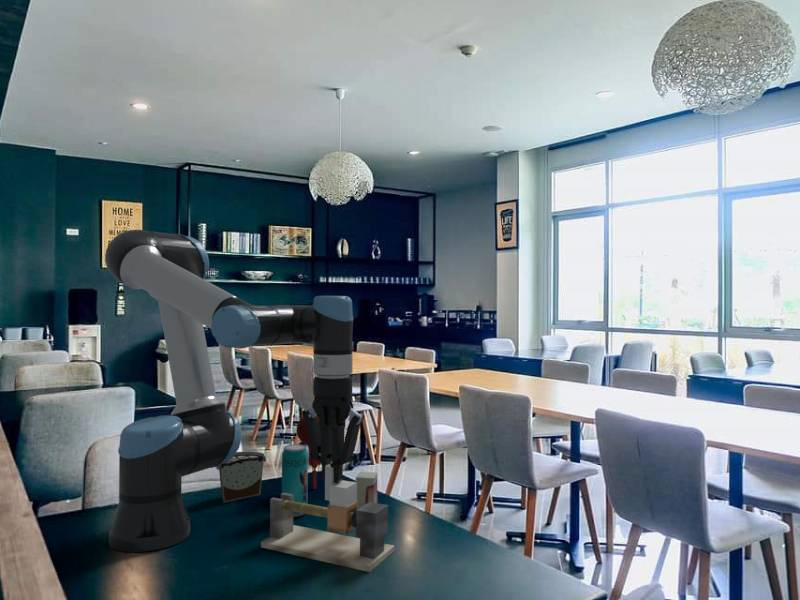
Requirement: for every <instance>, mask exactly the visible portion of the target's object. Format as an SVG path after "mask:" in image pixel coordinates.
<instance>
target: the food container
mask: <svg viewBox="0 0 800 600" xmlns="http://www.w3.org/2000/svg"><path fill="white" fill-rule="evenodd" d="M264 462H267V460H266V455H265V453H264V452H259V451H237V452H236V454H235V456H234V457H233V458H232V459H230V460H229V461H227V462H225V463H223V464H221V465H219V466H217V467H215V468H216V470H217V471H218V472H219V481H220V482H219V484H220V491H221V492H220V494H221V501H222V503H224V504H225V503H229V502H233V501H238V500H242V499H243V500H244V499H248V498H252V497H257V496H261V489H262V480H263V479H262V478H263V472H264V471H263V469H264Z"/></svg>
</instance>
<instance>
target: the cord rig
mask: <svg viewBox="0 0 800 600" xmlns="http://www.w3.org/2000/svg"><path fill="white" fill-rule="evenodd" d="M269 501H270V502H269V503H270V505H269V508H270V509H269V513H270V514H269V515H270V516H269V519H270V520H269V537H268V538H265V539H264V540H262V541H261V542H260V548H263V549H267V550H272V551H276V552H280V553H285V554H290V555H292V556H293V555H294V556H298V557H303V558H306V559H310V560H315V561H319V562H325V563H329V564H332V565H337V566H342V567H347V568H350V569H354V570H359V571H364V572H367V573H371V572H372V571H373V570H374V569H375V568H376V567H377V566H378V565H380V564H381V563H383V562H384V560H386V559H387V558H389V556H390V555H391V554H393V553H394V552H395V551H396V550H395V549H396V548H395V547H396V545H393V544H387V543H385V535H386V534H387V533H388V532H389V504H383V503H378V502H377V503H373V502H369V503H367V504H365V505H364V506H362V507H361V508H359V509H355V511H354V512H349V511H348V522H352V526H353V527H354V528H355V530H356V531H355V534H356V537H354V536H351V535H350V536H348V535H346V534H341V533H336V532H331V531H325V530H321V529H314V528H310V527H305V526H301V525H295V524H294V517H293V511H295V512H300V513H304V515H305V514H306V515H312V516H316V517H323V518H327V519H328V506H327V507H325V506H320V505H315V504H310V503H308V504H305V503H299V502H294V501H293V494H289V493H282V492H281V493H280V498H278V497H272V498H270V500H269Z"/></svg>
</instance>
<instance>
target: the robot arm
mask: <svg viewBox="0 0 800 600" xmlns="http://www.w3.org/2000/svg"><path fill="white" fill-rule="evenodd" d="M104 259H105V260H104V261H105V266H106V268H107V270H108V272H109V274H111V276H112V277H113V278H114V279H115V280H117V281H118V282H119V283H121V284H123V285H125V286H126V287H128V288H130V289H132V290H141V289H142V290H144V291H145V292H147V293H149V296H150V297H151V298H153V299H155V300H156V301H157V302H158V307H159V308H158V309H159V314H160V320H161V324H162V325H161V326H162V329H163V330H162V331H163V334H164V335H163V336H164V341H165V346H166V352H167V353H166V354H167V357H168V365H169V370H170V375H171V381H172V387H173V392H174V398H175V403H176V406H175V407H174V409H173V410H172V412H171V413H170V415H158V416H155V417H154V416H150V417H145V418H141V419H138V420H135V421H133V422H131V423H129V424H128V425H126V426H125V427H124V428H123V429H122V431H121V432H120V435H119V446H118V449H117V450H118V451H117V452H118V456H119V458H118V459H119V461H118V463H119V465H118V466H119V468H118V471H119V473H118V474H119V475H118V482H119V483H118V493H119V494H118V505H117V508H116V510H115V514H114V518H113V522H112V525H111V526H110V528H109V531H108V545H109V547H110V548H112V549H114V550H117V551H118V552H119V551H120V552H129V553H130V552H131V553H139V552H140V553H142V552H150V551H151V552H152V551H158V550H163V549H166V548H169V547H171V546H174V545H177V544H179V543H181V542H182V541H183V542H184V540H186V539H187V538H188V537H189V536H190V534H191V520H190V519H191V518H190V517H189V516H188V512H187V507H186V506H185V505H186V504H185V502H184V499H183V496H182V478H183V477H185V476H188V475H192V474H194V473H198V472H201V471H204V470H208V469H213V468H216V467H217V466H219V465H221V464H223V463H225V462H227V461H229V460H230V459H232V458H233V457H234V456H235V454H236V452H238V450H239V449H240V446H241V443H242V434H243V433H242V427H241V424H240V421H239V418H238V417H235V416H236V415H235V414H234V413H232V412H230V411H228V410H227V409H226V408H227V407H226V403H225V402H226V401H224V400H222V399H220V398H219V397H218V396H217V393H216V387H215V382H214V377H213V376H214V375H213V373H212V372H213V371H212V367H211V360H210V357H209V356H210V355H209V351H208V350H209V349H208V345H207V340H206V334H205V328H204V326H205V327H207V328H209V329H210V330H211V334H212V336H213V337H214V339H215V341H216V343H217V344H218V345H220V346H221V347H224V348H229V349H232V348H233V349H234V348H235V349H246V348H251V347H260V346H261V347H262V346H271V345H272V346H273V345H275V346H276V345H285V344H286V345H287V344H309V345H312V346H313V347H312V348H313V349H312V350H313V356H312V357H313V362H312V363H313V365H312V367H313V371H312V372H313V374H314V377H313V379H312V395H313V396H314V399H313V401H312V403H311V406H310V407H309V408H307V409H304V410H301V415H302V416H301V417H303V418H304V419H305V421H306V425H307V430H308V435H309V441H310V446H311V451H312V456H313V459H314V460H318V461H319V462H321V464H320V465H321V480H322V481H323V482H324V500H325V501H329V502H330V485H332V484H334V483H339V482H341V481H342V480H343V476H344V475H343V472H344V471H343V470H344V469H343V467H344V465H346V464H347V463H349V462H352V460H353V456H354V452H355V448H356V443H357V439H358V435H359V429H360V427H361V424H362V422H363V420H364V419H365V415H364V413H359V412H358V411H357V410H355V409H354V403H353V401H352V396H353V378H352V376H350V375H351V374H352V373H353V329H354V326H353V325H354V320H355V319H354V316H353V315H354V314H353V301H352V298H351V297H349V296H347V295H317V296H315V297H314V298H313V304H312V305H289V304H278V305H254V304H251V303H249V302H247V301H245V300H242V298H239V297H237V296H235V295H234V294H231V293H230V292H228V291H226V290H224V289H222V288H220V287H219V286H217V285H215V284H213V283H212V282H210V281H208V280H206V278H207V276H208V272H207V271H209V270H210V260H209V259H210V258H209V256H208V252H207V250H206V248H205V247H204V245H203V244H202V243H201V241H199V240H197V239H195V238H194V237H192V236H188V235H187V236H186V235H184V234H181V233H167V232H159V231H151V230H150V231H149V230H143V229H130V230H126V231H124V232H121V233H118V234H117V235H116V236H114V238H113V239H112V240H110V242H109V243H108V245H107V247H106V249H105V255H104ZM315 375H316V377H315ZM317 416H318V418H319V422H318V418H317ZM347 419H348V422H349V423H348V424H347V428H346V421H347ZM345 428H346V432H345ZM320 429H321V433H320Z"/></svg>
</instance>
